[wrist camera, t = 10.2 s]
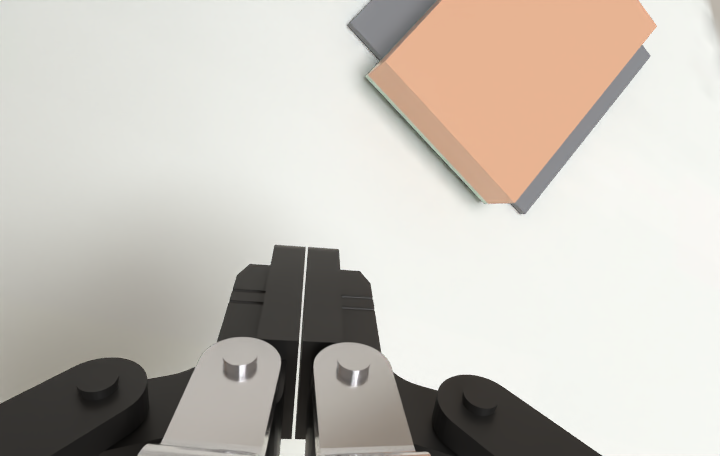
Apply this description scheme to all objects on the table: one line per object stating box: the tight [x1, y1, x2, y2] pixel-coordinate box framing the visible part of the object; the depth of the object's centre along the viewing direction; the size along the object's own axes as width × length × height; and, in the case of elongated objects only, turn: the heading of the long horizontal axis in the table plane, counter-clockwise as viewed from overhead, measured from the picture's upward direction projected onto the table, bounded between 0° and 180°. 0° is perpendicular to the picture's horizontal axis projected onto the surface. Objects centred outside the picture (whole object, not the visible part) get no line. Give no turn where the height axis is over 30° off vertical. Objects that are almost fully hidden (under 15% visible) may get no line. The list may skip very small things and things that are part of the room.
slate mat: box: [348, 0, 650, 214], centre depth 30 cm, size 15×14×1 cm
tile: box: [365, 0, 657, 204], centre depth 28 cm, size 10×3×14 cm
